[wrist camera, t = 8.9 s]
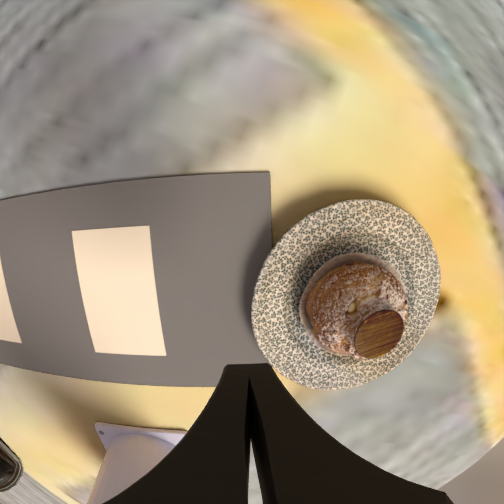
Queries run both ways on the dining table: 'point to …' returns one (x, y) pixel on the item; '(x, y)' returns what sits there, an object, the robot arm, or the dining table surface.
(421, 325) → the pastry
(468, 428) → the dining table surface
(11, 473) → the chocolate cake
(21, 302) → the label panel
